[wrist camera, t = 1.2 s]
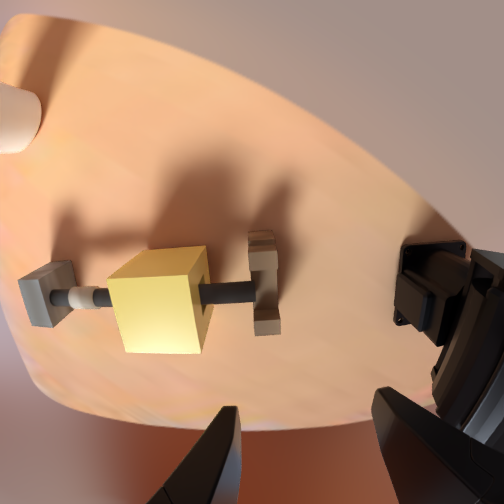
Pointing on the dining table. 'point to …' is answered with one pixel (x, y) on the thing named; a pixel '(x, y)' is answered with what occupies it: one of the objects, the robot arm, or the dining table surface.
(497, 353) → the robot arm
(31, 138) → the drinking glass
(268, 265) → the cord fixture
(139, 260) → the sleeve
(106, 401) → the dining table surface
